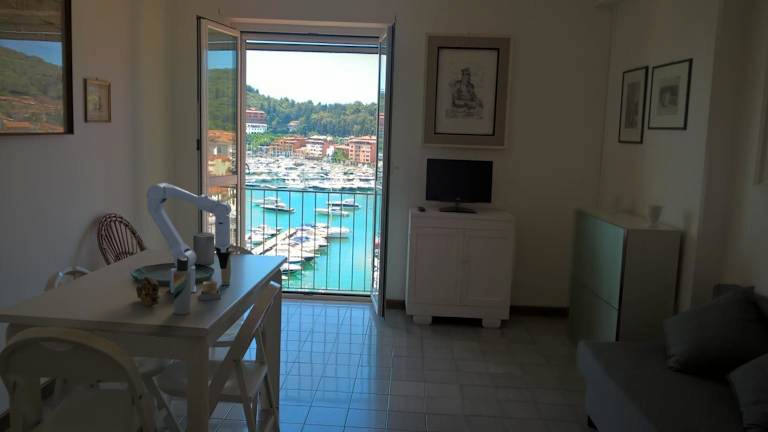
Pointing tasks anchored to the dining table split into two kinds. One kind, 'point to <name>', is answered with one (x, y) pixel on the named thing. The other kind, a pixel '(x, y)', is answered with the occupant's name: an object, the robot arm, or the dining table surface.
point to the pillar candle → (204, 248)
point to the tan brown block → (210, 287)
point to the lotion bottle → (182, 287)
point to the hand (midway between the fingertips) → (222, 266)
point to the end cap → (209, 296)
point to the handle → (227, 270)
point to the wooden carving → (148, 291)
